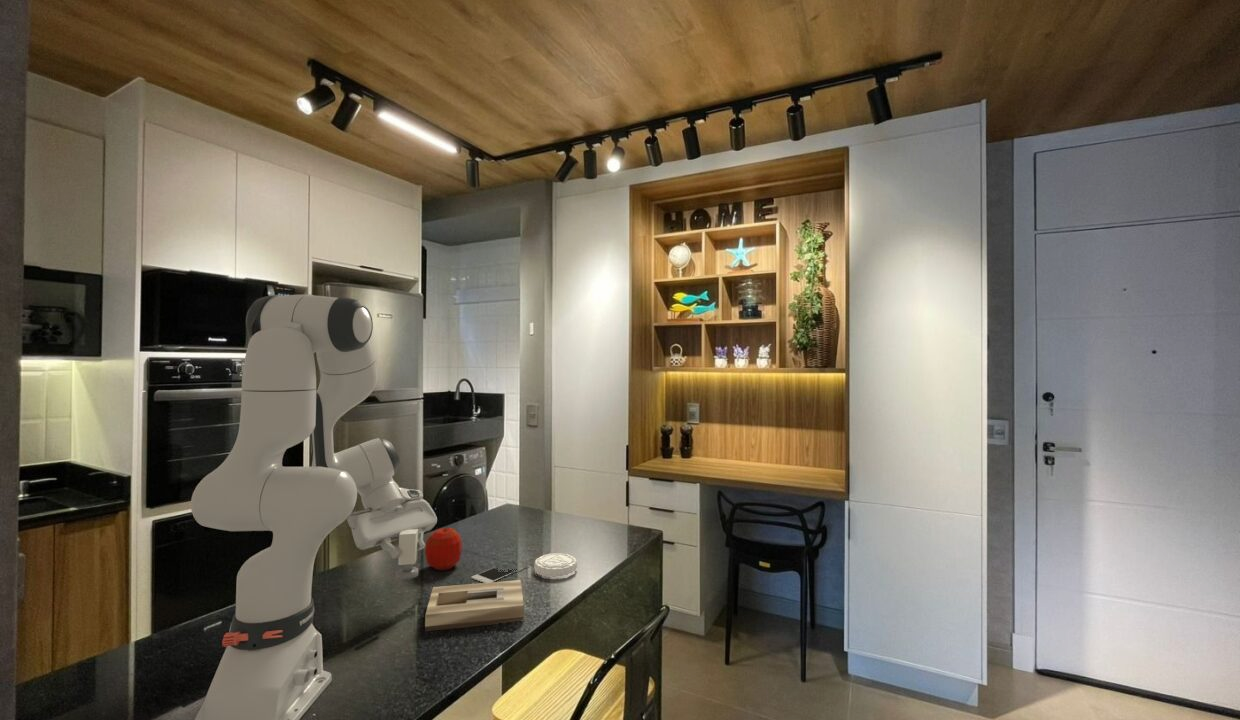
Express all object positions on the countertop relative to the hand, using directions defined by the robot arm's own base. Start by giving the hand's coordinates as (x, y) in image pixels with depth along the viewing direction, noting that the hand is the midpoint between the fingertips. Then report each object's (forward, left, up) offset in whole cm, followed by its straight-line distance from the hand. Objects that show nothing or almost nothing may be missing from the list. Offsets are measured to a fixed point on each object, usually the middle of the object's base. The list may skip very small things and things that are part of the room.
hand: (409, 552), depth 119 cm
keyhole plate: (-4, -16, -13) cm, 21 cm away
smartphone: (+18, -22, -14) cm, 31 cm away
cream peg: (0, 0, -6) cm, 6 cm away
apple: (+25, -6, -14) cm, 29 cm away
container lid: (+16, -37, -14) cm, 42 cm away
